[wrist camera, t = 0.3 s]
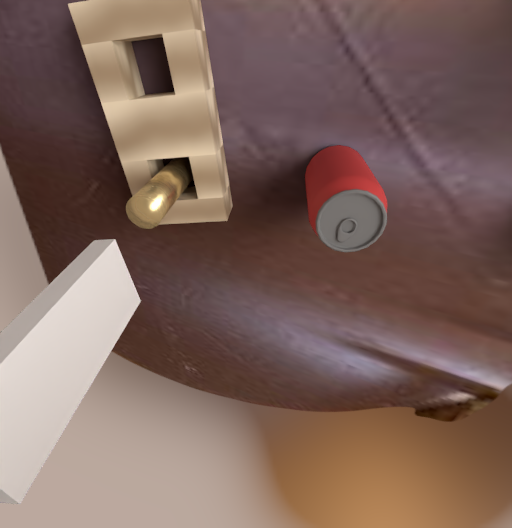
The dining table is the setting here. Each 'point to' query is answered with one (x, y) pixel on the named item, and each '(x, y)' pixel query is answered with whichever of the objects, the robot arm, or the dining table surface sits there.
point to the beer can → (344, 199)
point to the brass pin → (159, 193)
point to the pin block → (159, 98)
